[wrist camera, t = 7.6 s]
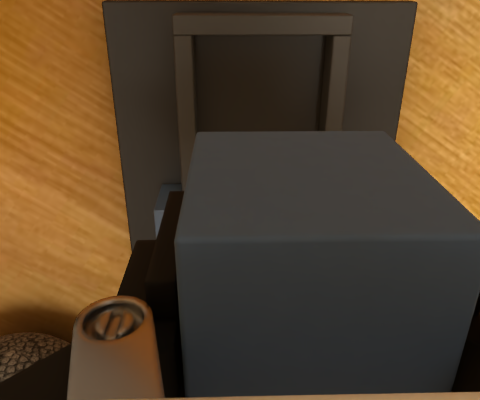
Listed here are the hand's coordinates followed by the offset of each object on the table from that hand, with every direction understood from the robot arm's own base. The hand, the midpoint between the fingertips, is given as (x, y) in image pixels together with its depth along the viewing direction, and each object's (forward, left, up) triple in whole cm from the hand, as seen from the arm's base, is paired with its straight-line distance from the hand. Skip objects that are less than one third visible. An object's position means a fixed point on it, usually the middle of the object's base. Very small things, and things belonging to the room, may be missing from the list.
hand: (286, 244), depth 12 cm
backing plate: (+6, -5, -13) cm, 15 cm away
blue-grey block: (0, 0, 0) cm, 0 cm away
